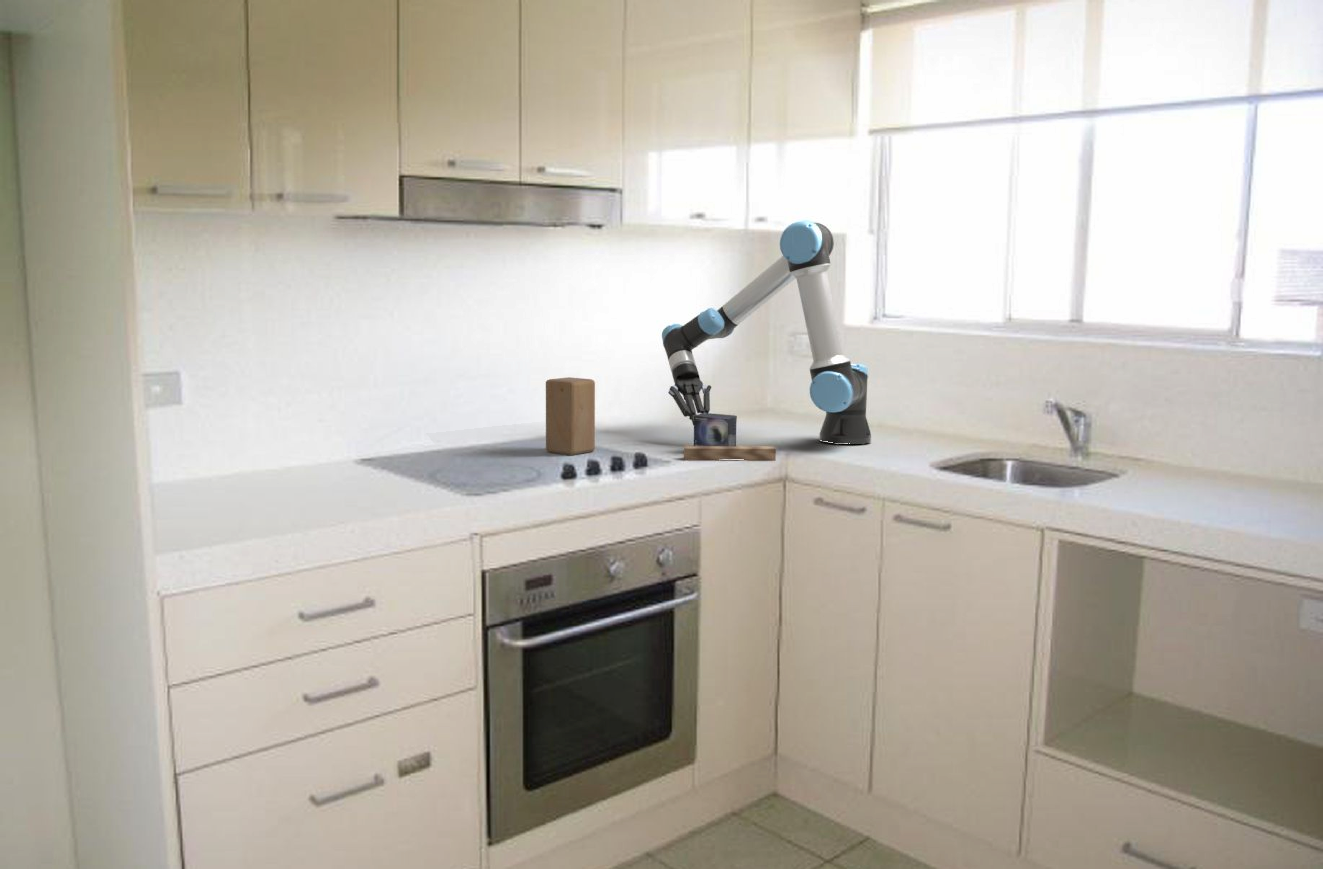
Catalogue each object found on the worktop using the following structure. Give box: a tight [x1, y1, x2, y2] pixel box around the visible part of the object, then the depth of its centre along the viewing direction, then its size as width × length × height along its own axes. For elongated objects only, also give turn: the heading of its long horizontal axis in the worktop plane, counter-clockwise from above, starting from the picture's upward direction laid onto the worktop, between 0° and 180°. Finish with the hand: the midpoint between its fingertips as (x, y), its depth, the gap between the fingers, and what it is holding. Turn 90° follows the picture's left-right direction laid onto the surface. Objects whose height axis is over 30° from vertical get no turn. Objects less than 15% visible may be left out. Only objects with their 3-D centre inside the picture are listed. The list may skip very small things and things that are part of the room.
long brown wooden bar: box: [683, 445, 777, 462], centre depth 293 cm, size 24×4×4 cm, turn 92°
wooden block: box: [545, 377, 596, 456], centre depth 301 cm, size 10×10×20 cm
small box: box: [693, 412, 738, 446], centre depth 303 cm, size 11×6×10 cm, turn 62°
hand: (703, 434), depth 311 cm, fingers closed
